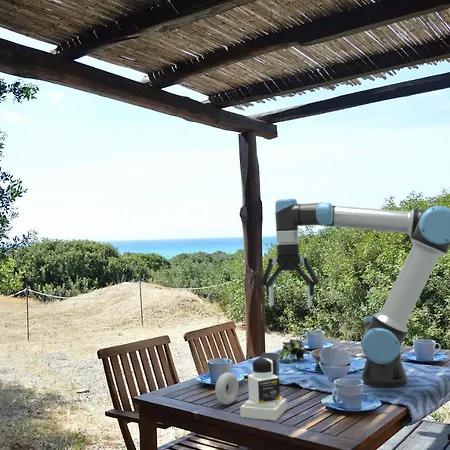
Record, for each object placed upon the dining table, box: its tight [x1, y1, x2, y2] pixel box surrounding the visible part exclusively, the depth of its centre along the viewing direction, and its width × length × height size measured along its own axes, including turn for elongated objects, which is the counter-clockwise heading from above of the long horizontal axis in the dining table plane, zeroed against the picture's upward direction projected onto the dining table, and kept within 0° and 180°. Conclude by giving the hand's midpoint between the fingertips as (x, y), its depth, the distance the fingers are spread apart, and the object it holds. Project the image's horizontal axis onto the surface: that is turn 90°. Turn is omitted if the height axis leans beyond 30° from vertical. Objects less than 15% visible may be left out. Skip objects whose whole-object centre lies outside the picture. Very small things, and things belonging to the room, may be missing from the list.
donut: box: [214, 372, 240, 406], centre depth 174 cm, size 10×3×10 cm, turn 141°
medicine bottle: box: [247, 358, 281, 404], centre depth 164 cm, size 7×7×12 cm
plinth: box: [239, 395, 288, 421], centre depth 164 cm, size 11×11×4 cm
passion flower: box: [277, 338, 311, 364], centre depth 226 cm, size 11×11×12 cm
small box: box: [257, 352, 280, 378], centre depth 194 cm, size 11×6×10 cm, turn 168°
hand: (290, 305), depth 187 cm, fingers open, 13 cm apart
